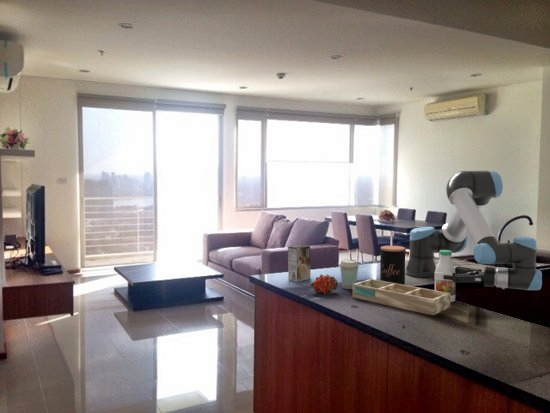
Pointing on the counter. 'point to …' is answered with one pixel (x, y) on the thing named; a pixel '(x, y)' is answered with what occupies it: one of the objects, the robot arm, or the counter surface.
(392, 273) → the coffee jar
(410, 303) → the wooden compartment tray
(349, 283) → the coffee cup
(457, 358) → the counter surface
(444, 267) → the milk bottle
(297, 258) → the coffee box
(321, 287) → the dragon fruit
